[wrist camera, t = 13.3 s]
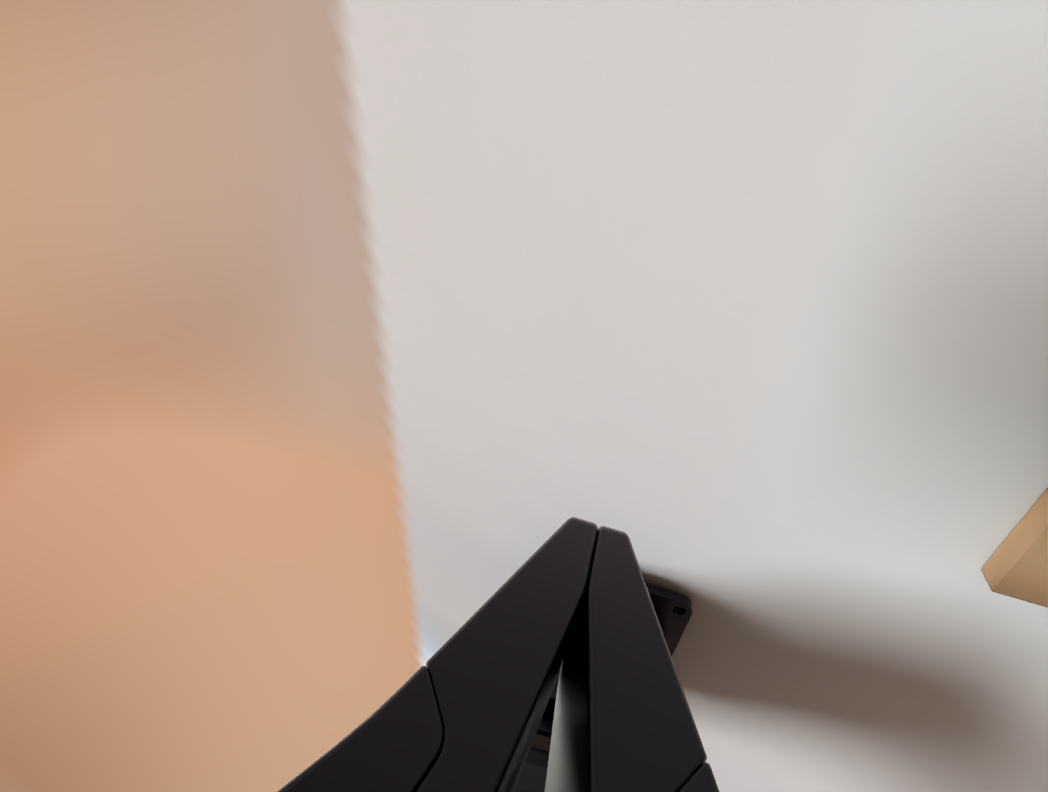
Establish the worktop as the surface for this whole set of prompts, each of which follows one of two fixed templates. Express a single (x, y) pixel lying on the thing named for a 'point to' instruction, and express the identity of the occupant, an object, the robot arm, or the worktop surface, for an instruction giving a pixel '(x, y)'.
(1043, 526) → the tan base with block
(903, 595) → the worktop surface
